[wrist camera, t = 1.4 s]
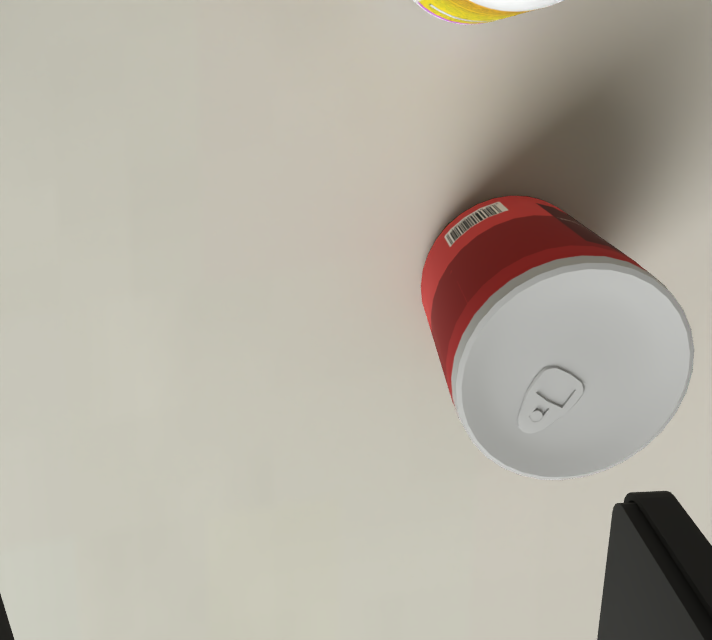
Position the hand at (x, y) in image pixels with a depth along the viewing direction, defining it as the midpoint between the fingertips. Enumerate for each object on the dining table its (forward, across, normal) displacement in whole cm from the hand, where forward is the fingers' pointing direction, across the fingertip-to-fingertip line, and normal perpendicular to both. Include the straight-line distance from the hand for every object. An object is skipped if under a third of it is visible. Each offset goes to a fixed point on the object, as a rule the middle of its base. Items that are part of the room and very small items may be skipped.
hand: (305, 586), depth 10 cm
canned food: (+22, -8, +3) cm, 24 cm away
